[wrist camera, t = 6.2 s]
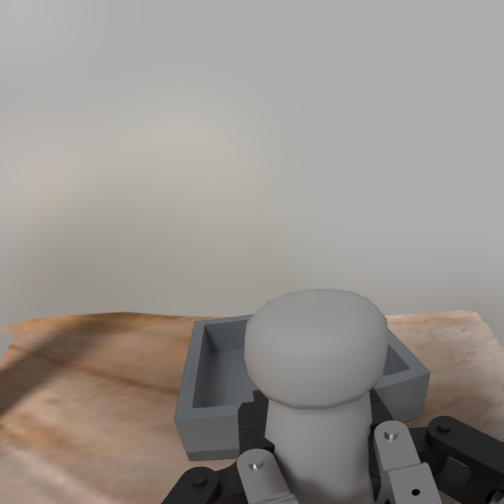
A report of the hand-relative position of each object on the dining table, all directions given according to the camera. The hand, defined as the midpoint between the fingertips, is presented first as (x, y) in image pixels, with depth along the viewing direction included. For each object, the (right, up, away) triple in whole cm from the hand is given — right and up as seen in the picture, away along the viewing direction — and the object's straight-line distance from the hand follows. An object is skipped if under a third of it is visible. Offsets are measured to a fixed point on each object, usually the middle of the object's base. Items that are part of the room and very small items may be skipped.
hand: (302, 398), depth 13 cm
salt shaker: (+1, -8, -1) cm, 8 cm away
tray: (+1, -5, +12) cm, 12 cm away
